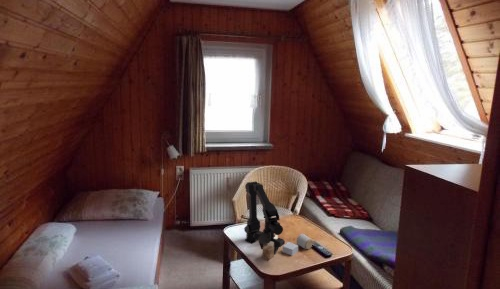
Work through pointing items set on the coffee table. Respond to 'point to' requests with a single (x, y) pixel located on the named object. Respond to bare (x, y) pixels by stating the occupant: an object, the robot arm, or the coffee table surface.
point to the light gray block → (290, 248)
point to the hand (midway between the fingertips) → (268, 251)
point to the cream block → (273, 242)
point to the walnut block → (268, 252)
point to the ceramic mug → (304, 241)
